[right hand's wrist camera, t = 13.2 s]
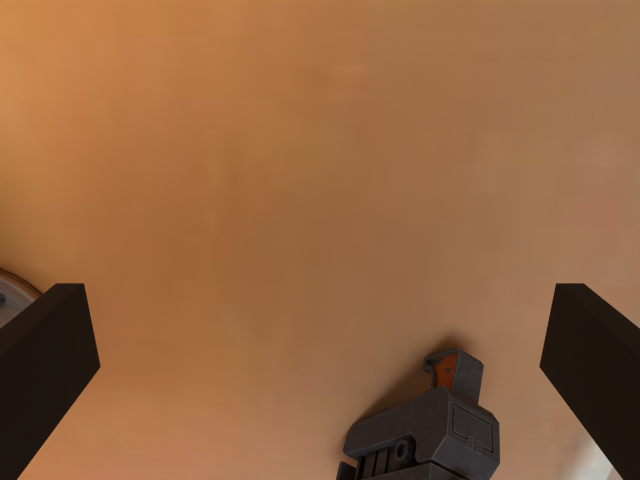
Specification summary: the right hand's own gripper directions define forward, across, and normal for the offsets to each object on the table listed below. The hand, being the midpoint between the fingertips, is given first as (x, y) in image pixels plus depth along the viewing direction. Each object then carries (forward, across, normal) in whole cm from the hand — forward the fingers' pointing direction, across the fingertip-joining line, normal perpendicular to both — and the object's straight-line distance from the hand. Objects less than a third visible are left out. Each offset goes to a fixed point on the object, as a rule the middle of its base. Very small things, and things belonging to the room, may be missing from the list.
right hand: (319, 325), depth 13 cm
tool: (+28, -8, +27) cm, 39 cm away
